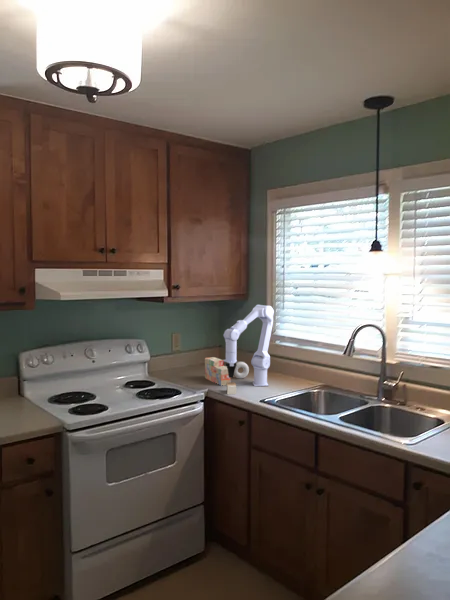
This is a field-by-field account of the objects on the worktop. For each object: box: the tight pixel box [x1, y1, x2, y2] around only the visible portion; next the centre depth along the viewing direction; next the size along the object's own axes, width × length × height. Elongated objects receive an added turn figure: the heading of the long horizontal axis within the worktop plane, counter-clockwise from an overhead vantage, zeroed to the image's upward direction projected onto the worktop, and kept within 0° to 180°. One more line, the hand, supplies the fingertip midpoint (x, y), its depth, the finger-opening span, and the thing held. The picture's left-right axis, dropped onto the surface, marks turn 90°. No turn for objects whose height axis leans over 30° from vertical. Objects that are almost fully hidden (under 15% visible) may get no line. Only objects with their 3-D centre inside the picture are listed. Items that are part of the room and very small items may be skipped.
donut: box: [233, 361, 250, 380], centre depth 297 cm, size 10×4×10 cm, turn 101°
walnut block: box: [226, 381, 237, 395], centre depth 266 cm, size 4×4×8 cm
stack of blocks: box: [204, 356, 232, 387], centre depth 290 cm, size 21×6×12 cm, turn 27°
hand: (231, 377), depth 270 cm, fingers closed
